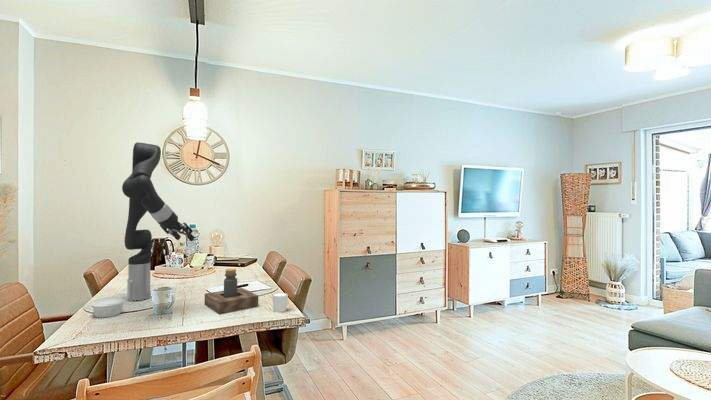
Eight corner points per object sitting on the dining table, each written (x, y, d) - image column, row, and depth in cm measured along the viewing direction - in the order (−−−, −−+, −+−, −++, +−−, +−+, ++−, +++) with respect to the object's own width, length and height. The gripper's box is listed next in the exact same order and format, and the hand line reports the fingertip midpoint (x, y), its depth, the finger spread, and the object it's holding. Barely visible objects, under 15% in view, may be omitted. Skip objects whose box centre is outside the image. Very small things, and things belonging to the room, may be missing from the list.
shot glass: (290, 308, 168) (290, 293, 168) (282, 313, 161) (283, 297, 161) (277, 307, 170) (277, 291, 170) (269, 311, 163) (269, 295, 163)
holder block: (219, 314, 159) (219, 302, 159) (204, 304, 172) (204, 293, 172) (258, 306, 171) (258, 295, 170) (241, 297, 184) (241, 287, 184)
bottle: (225, 300, 174) (225, 268, 174) (238, 300, 174) (238, 268, 174) (222, 304, 168) (222, 271, 168) (235, 304, 169) (235, 271, 168)
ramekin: (89, 320, 150) (89, 307, 150) (94, 312, 160) (94, 300, 160) (122, 316, 155) (122, 303, 155) (124, 309, 165) (124, 297, 165)
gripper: (181, 208, 157) (202, 233, 167) (157, 207, 163) (179, 231, 173) (170, 222, 152) (192, 246, 163) (146, 220, 158) (169, 244, 169)
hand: (185, 239), depth 168 cm, fingers open, 8 cm apart
